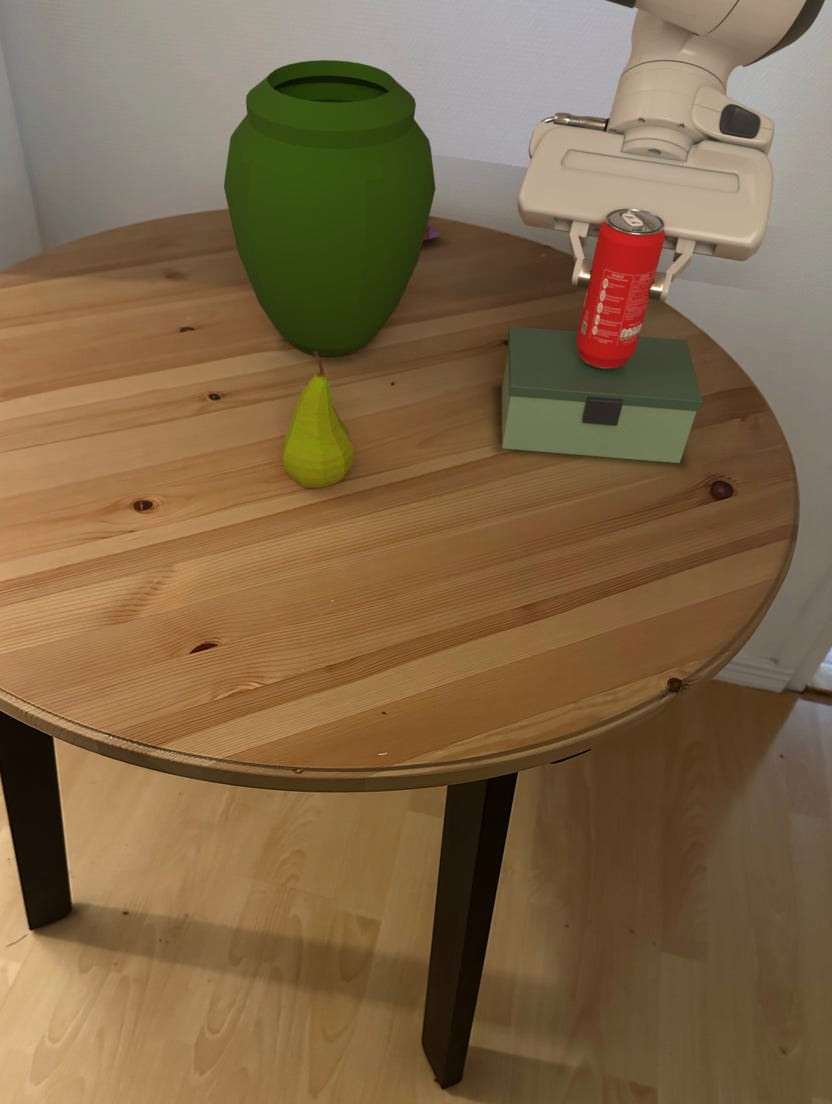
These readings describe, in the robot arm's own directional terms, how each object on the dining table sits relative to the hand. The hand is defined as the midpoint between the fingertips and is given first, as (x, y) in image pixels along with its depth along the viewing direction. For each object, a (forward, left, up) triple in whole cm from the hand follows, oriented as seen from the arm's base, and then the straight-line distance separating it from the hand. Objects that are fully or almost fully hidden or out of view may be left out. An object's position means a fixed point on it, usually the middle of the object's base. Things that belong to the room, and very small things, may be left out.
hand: (618, 291), depth 82 cm
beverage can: (0, -1, -7) cm, 7 cm away
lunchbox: (0, -1, -14) cm, 14 cm away
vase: (+26, -13, -14) cm, 32 cm away
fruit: (+24, +11, -14) cm, 30 cm away
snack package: (+21, -40, -14) cm, 47 cm away
